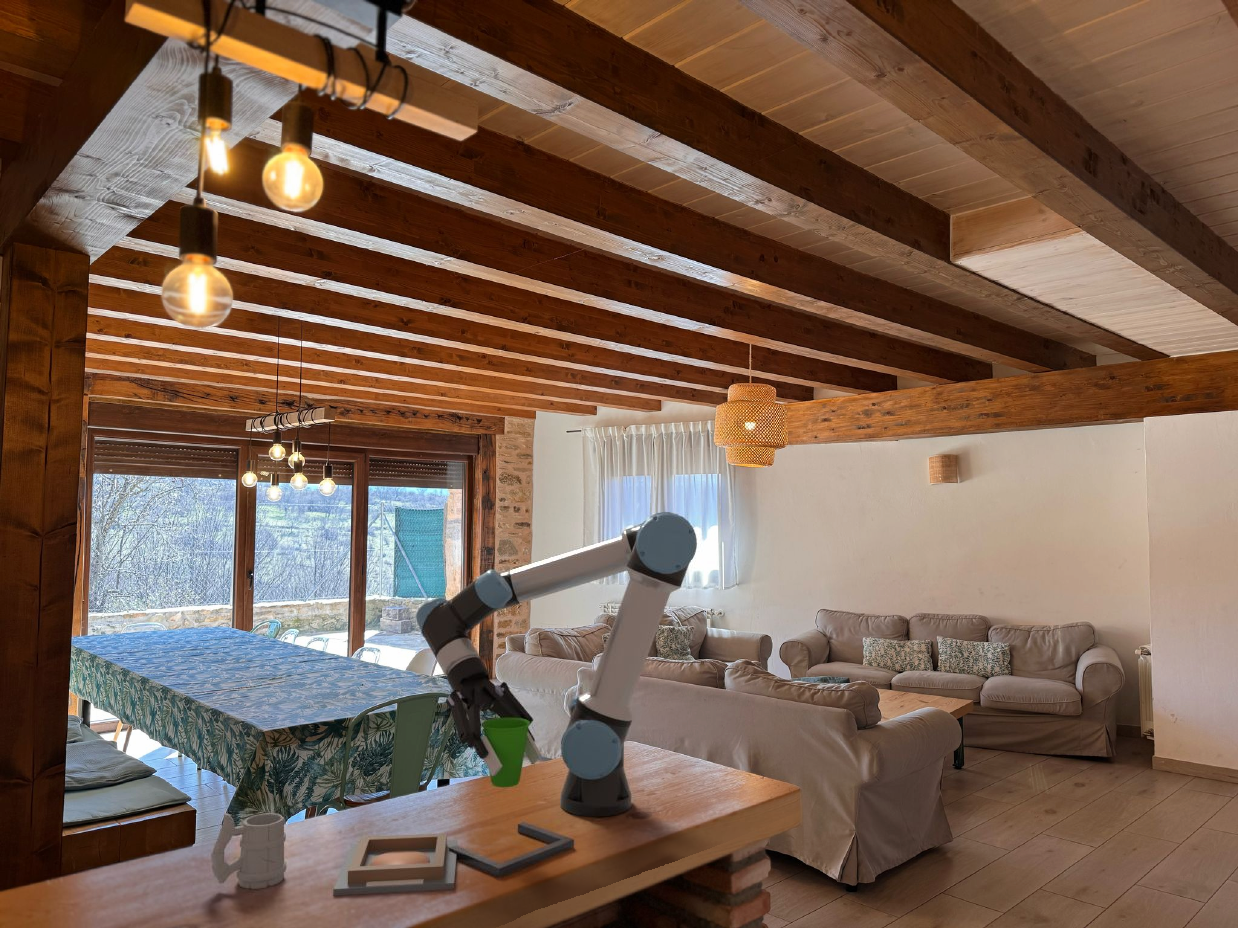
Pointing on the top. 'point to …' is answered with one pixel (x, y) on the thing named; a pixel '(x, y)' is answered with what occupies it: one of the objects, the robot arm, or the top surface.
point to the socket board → (400, 888)
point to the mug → (252, 851)
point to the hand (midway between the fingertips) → (517, 765)
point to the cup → (507, 748)
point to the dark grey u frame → (501, 869)
